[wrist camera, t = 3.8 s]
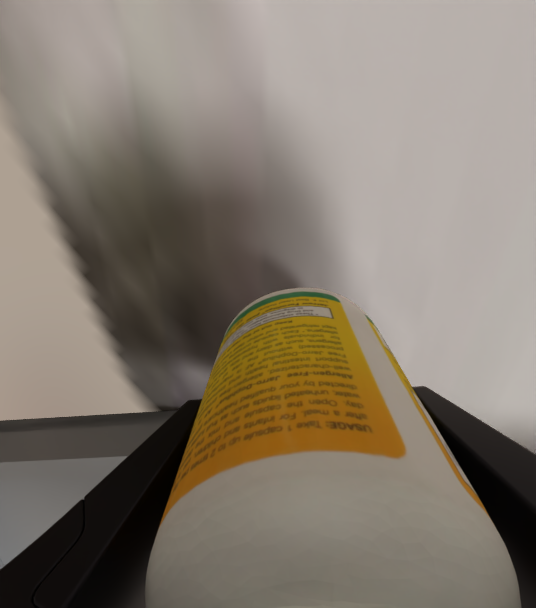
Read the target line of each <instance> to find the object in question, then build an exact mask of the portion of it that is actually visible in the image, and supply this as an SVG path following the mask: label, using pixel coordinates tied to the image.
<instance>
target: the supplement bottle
mask: <svg viewBox="0 0 536 608" xmlns="http://www.w3.org/2000/svg"><path fill="white" fill-rule="evenodd" d="M145 602H146V608H521V600H520V591H519V585H518V580H517V576H516V572H515V569H514V566H513V563H512V561H511V558H510V555H509V553H508V550H507V548H506V546H505V543H504V542H503V540H502V538H501V536H500V534H499V533H498V531H497V529H496V527H495V525H494V524H493V522H492V520H491V518H490V517H489V515H488V513H487V511H486V509H485V508H484V506H483V504H482V502H481V500H480V499H479V497H478V495H477V494H476V492H475V490H474V489H473V487H472V485H471V484H470V482H469V481H468V479H467V477H466V476H465V474H464V472H463V471H462V469H461V467H460V466H459V464H458V462H457V461H456V459H455V457H454V456H453V454H452V452H451V451H450V449H449V447H448V446H447V444H446V442H445V441H444V439H443V437H442V436H441V434H440V432H439V431H438V429H437V427H436V426H435V424H434V422H433V420H432V419H431V417H430V416H429V414H428V412H427V411H426V409H425V408H424V406H423V404H422V403H421V401H420V399H419V398H418V396H417V395H416V393H415V391H414V390H413V388H412V386H411V384H410V383H409V381H408V379H407V378H406V376H405V374H404V373H403V371H402V369H401V368H400V366H399V364H398V362H397V360H396V359H395V357H394V355H393V353H392V352H391V350H390V348H389V347H388V345H387V344H386V342H385V340H384V339H383V337H382V335H381V334H380V332H379V331H378V329H377V328H376V326H375V325H374V323H373V322H372V321H371V319H370V318H369V317H368V315H367V314H366V313H365V312H364V311H363V310H362V309H361V308H360V307H358V306H357V305H356V304H354V303H353V302H352V301H350V300H349V299H347V298H345V297H343V296H341V295H339V294H336V293H333V292H330V291H327V290H324V289H319V288H294V289H286V290H281V291H276V292H273V293H270V294H267V295H265V296H262V297H260V298H259V299H257V300H255V301H253V302H252V303H250V304H249V305H248V306H246V307H245V308H244V309H243V310H242V311H241V312H240V313H239V314H238V315H237V316H236V317H235V318H234V319H233V321H232V322H231V324H230V326H229V327H228V329H227V331H226V333H225V335H224V338H223V340H222V343H221V345H220V348H219V351H218V354H217V357H216V360H215V363H214V365H213V368H212V371H211V374H210V377H209V380H208V383H207V386H206V389H205V392H204V395H203V398H202V401H201V404H200V407H199V410H198V413H197V416H196V419H195V422H194V425H193V428H192V431H191V434H190V437H189V440H188V443H187V446H186V449H185V452H184V455H183V458H182V461H181V464H180V467H179V470H178V473H177V476H176V479H175V482H174V485H173V488H172V491H171V493H170V496H169V499H168V502H167V505H166V508H165V511H164V514H163V517H162V520H161V523H160V526H159V529H158V532H157V535H156V538H155V541H154V544H153V547H152V551H151V554H150V559H149V563H148V568H147V574H146V585H145Z"/></svg>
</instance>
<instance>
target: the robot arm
mask: <svg viewBox="0 0 536 608" xmlns="http://www.w3.org/2000/svg"><path fill="white" fill-rule="evenodd" d="M412 388H413V390H414V391H415V393H416V395H417V396H418V398H419V399H420V401H421V403H422V404H423V406H424V408H425V409H426V411H427V412H428V414H429V416H430V417H431V419H432V420H433V422H434V424H435V426H436V427H437V429H438V431H439V432H440V434H441V436H442V437H443V439H444V441H445V442H446V444H447V446H448V447H449V449H450V451H451V452H452V454H453V456H454V457H455V459H456V461H457V462H458V464H459V466H460V467H461V469H462V471H463V472H464V474H465V476H466V477H467V479H468V481H469V482H470V484H471V485H472V487H473V489H474V490H475V492H476V494H477V495H478V497H479V499H480V500H481V502H482V504H483V506H484V508H485V509H486V511H487V513H488V515H489V517H490V518H491V520H492V522H493V524H494V525H495V527H496V529H497V531H498V533H499V534H500V536H501V538H502V540H503V542H504V543H505V546H506V548H507V550H508V553H509V555H510V558H511V561H512V563H513V566H514V569H515V572H516V576H517V580H518V585H519V591H520V600H521V608H536V454H534V453H532V452H531V451H529V450H528V449H526V448H524V447H523V446H521V445H519V444H518V443H516V442H515V441H513V440H511V439H510V438H508V437H506V436H505V435H503V434H502V433H500V432H498V431H497V430H495V429H494V428H492V427H490V426H489V425H487V424H485V423H484V422H482V421H481V420H479V419H477V418H476V417H474V416H473V415H471V414H469V413H468V412H466V411H464V410H463V409H461V408H460V407H458V406H456V405H455V404H453V403H451V402H450V401H448V400H447V399H445V398H443V397H442V396H440V395H439V394H437V393H435V392H434V391H432V390H430V389H429V388H427V387H425V386H418V387H412ZM201 401H202V399H197V400H189V401H187V402H186V403H185V404H184V405H183V406H182V407H181V408H180V409H178V410H177V411H176V412H175V413H174V414H173V415H172V416H171V417H170V418H169V419H168V420H167V421H165V422H164V423H163V424H162V425H161V426H160V427H159V428H158V429H157V430H156V431H155V432H154V433H152V434H151V435H150V436H149V437H148V438H147V439H146V440H145V441H144V442H143V443H142V444H141V445H139V446H138V447H137V448H136V449H135V450H134V451H133V452H132V453H131V454H130V455H129V456H128V457H126V458H125V459H124V460H123V461H122V462H121V463H120V464H119V465H118V466H117V467H116V468H115V469H114V470H112V471H111V472H110V473H109V474H108V475H107V476H106V477H105V478H104V479H103V480H102V481H101V482H99V483H98V484H97V485H96V486H95V487H94V488H93V489H92V490H91V491H90V492H89V493H88V494H86V495H85V497H84V499H81V500H80V501H79V502H78V503H77V504H75V505H74V506H73V507H72V508H71V509H70V510H69V511H68V512H67V513H66V514H65V515H63V516H62V517H61V518H60V519H59V520H58V521H57V522H56V523H54V524H53V525H52V526H51V527H50V528H49V529H48V530H47V531H46V532H44V533H43V534H42V535H41V536H40V537H39V538H37V539H36V540H35V541H34V542H33V543H31V544H30V545H29V546H28V547H27V548H25V549H24V550H23V551H22V552H21V553H20V554H18V555H17V556H16V557H15V558H14V559H12V560H11V561H10V562H9V563H7V564H6V565H5V566H4V567H3V568H1V569H0V608H146V602H145V585H146V574H147V568H148V563H149V559H150V554H151V551H152V547H153V544H154V541H155V538H156V535H157V532H158V529H159V526H160V523H161V520H162V517H163V514H164V511H165V508H166V505H167V502H168V499H169V496H170V493H171V491H172V488H173V485H174V482H175V479H176V476H177V473H178V470H179V467H180V464H181V461H182V458H183V455H184V452H185V449H186V446H187V443H188V440H189V437H190V434H191V431H192V428H193V425H194V422H195V419H196V416H197V413H198V410H199V407H200V404H201Z"/></svg>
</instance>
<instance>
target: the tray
mask: <svg viewBox="0 0 536 608" xmlns="http://www.w3.org/2000/svg"><path fill="white" fill-rule="evenodd" d="M176 411H177V410H176ZM176 411H159V412H142V413H127V414H109V415H92V416H75V417H57V418H41V419H23V420H6V421H0V569H1V568H3V567H4V566H5V565H6V564H7V563H9V562H10V561H11V560H12V559H14V558H15V557H16V556H17V555H18V554H20V553H21V552H22V551H23V550H24V549H25V548H27V547H28V546H29V545H30V544H31V543H33V542H34V541H35V540H36V539H37V538H39V537H40V536H41V535H42V534H43V533H44V532H46V531H47V530H48V529H49V528H50V527H51V526H52V525H53V524H54V523H56V522H57V521H58V520H59V519H60V518H61V517H62V516H63V515H65V514H66V513H67V512H68V511H69V510H70V509H71V508H72V507H73V506H74V505H75V504H77V503H78V502H79V501H80V500H81V499H84V497H85V495H86V494H88V493H89V492H90V491H91V490H92V489H93V488H94V487H95V486H96V485H97V484H98V483H99V482H101V481H102V480H103V479H104V478H105V477H106V476H107V475H108V474H109V473H110V472H111V471H112V470H114V469H115V468H116V467H117V466H118V465H119V464H120V463H121V462H122V461H123V460H124V459H125V458H126V457H128V456H129V455H130V454H131V453H132V452H133V451H134V450H135V449H136V448H137V447H138V446H139V445H141V444H142V443H143V442H144V441H145V440H146V439H147V438H148V437H149V436H150V435H151V434H152V433H154V432H155V431H156V430H157V429H158V428H159V427H160V426H161V425H162V424H163V423H164V422H165V421H167V420H168V419H169V418H170V417H171V416H172V415H173V414H174V413H175V412H176Z"/></svg>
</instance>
